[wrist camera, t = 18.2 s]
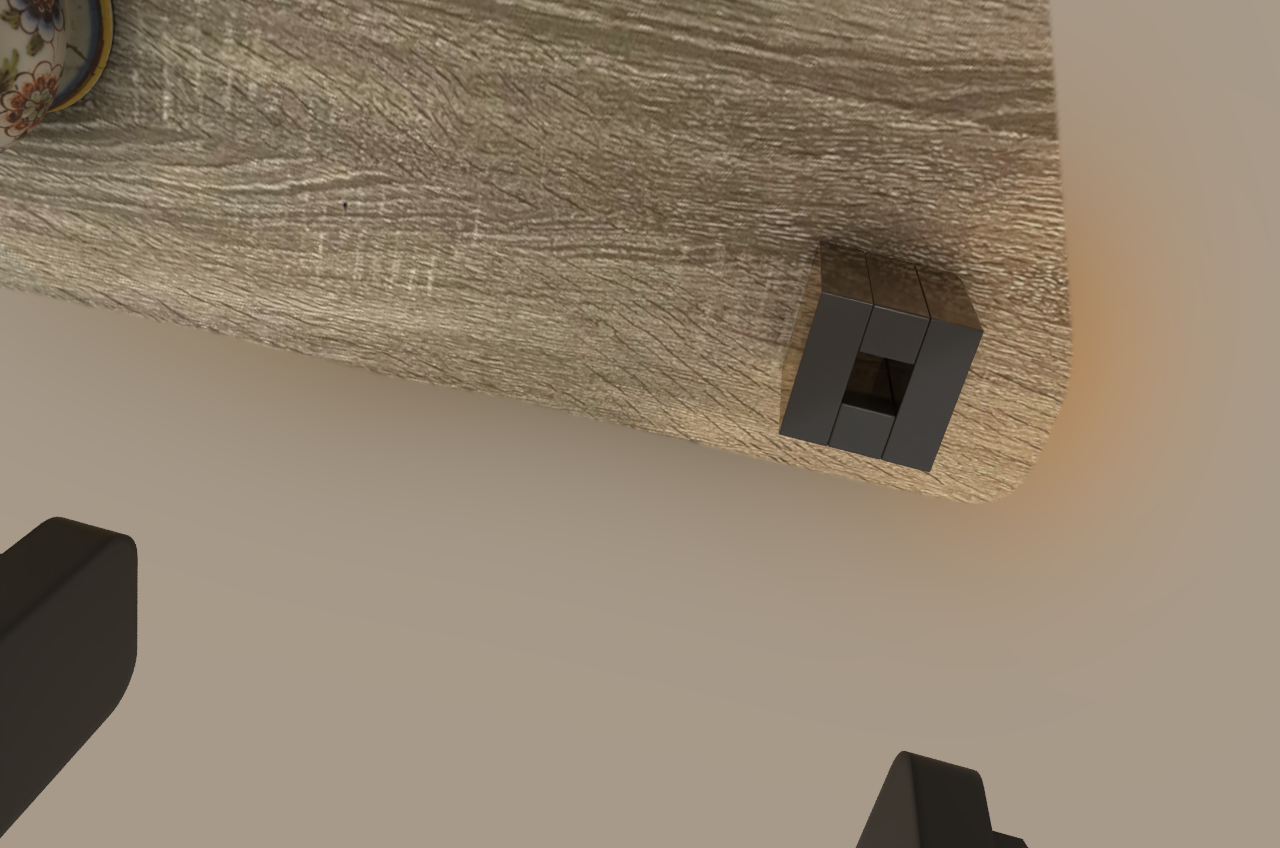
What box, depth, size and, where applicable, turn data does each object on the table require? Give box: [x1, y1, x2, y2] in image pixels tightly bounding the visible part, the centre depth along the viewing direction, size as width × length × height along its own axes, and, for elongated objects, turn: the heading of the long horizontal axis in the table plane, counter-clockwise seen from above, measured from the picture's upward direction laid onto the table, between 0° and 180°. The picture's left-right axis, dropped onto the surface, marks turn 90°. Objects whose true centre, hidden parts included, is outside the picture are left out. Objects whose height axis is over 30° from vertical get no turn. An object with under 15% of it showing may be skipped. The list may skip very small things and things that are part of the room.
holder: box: [779, 241, 983, 472], centre depth 44 cm, size 6×6×7 cm
